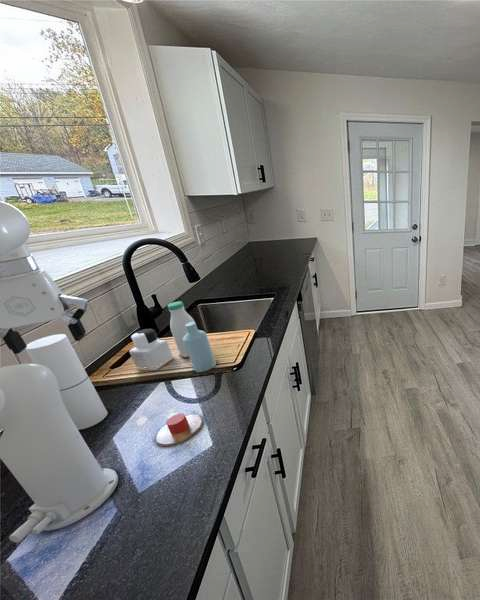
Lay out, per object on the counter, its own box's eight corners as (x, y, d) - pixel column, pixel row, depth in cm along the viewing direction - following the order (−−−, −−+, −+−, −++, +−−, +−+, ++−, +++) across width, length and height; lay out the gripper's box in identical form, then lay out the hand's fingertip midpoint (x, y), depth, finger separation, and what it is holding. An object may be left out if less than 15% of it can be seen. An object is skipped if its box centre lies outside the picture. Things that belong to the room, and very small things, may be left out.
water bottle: (209, 371, 105) (193, 328, 98) (190, 372, 105) (173, 329, 99) (220, 360, 111) (206, 319, 104) (202, 361, 111) (187, 319, 105)
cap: (186, 420, 83) (182, 411, 82) (190, 427, 80) (186, 418, 79) (168, 429, 80) (164, 419, 79) (172, 437, 78) (168, 427, 77)
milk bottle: (196, 357, 114) (178, 307, 106) (175, 358, 114) (156, 308, 106) (208, 346, 121) (192, 298, 113) (189, 347, 121) (171, 299, 114)
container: (155, 357, 116) (142, 326, 111) (174, 358, 114) (161, 326, 109) (136, 370, 108) (121, 337, 103) (156, 370, 107) (141, 337, 102)
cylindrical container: (86, 431, 82) (38, 349, 73) (66, 428, 84) (16, 348, 74) (114, 411, 89) (73, 334, 79) (94, 409, 90) (52, 333, 81)
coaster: (186, 445, 76) (185, 443, 76) (146, 446, 76) (145, 444, 76) (210, 415, 85) (209, 413, 85) (174, 416, 85) (174, 415, 85)
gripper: (-73, 282, 55) (-17, 365, 61) (58, 264, 61) (96, 340, 68) (-42, 272, 61) (6, 348, 67) (74, 257, 68) (107, 327, 74)
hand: (51, 344), depth 68 cm, fingers open, 9 cm apart
